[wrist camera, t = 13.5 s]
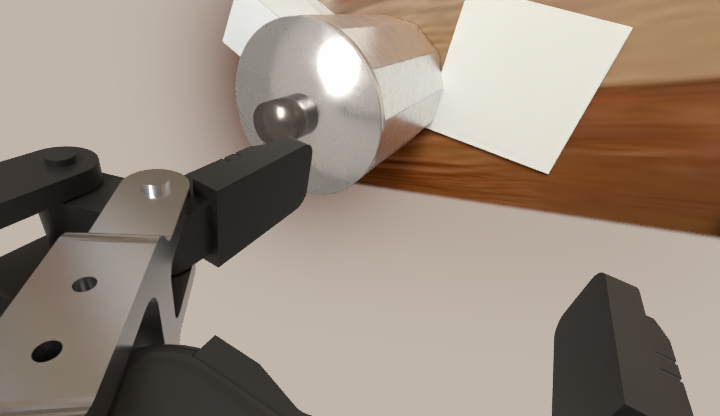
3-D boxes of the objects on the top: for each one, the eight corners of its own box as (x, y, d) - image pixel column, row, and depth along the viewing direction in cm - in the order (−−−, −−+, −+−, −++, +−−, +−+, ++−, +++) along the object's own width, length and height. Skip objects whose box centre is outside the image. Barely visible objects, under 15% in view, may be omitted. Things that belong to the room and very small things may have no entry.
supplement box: (302, -14, 50) (237, -20, 40) (343, 20, 49) (287, 23, 39) (283, 35, 54) (219, 41, 44) (319, 66, 54) (264, 79, 44)
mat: (632, 27, 36) (633, 27, 36) (548, 172, 46) (548, 174, 45) (470, -15, 41) (469, -15, 40) (424, 126, 50) (423, 126, 50)
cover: (463, 36, 43) (377, 53, 25) (420, 161, 52) (335, 241, 34) (342, -1, 48) (196, -9, 30) (323, 120, 57) (203, 170, 39)
